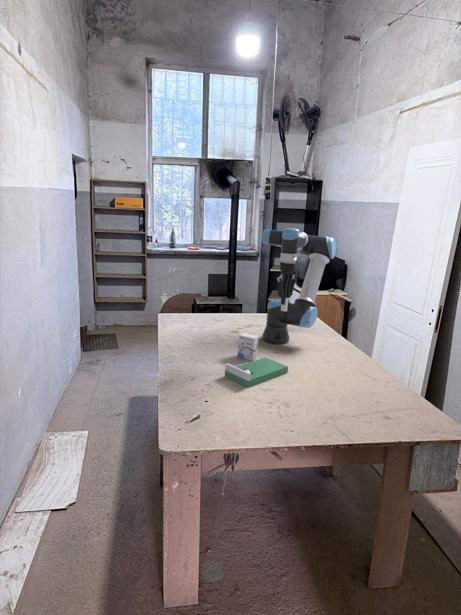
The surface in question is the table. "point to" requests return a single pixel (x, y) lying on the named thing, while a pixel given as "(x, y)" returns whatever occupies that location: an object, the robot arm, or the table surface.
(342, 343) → the table surface
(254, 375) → the putting deck
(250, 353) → the ink box
